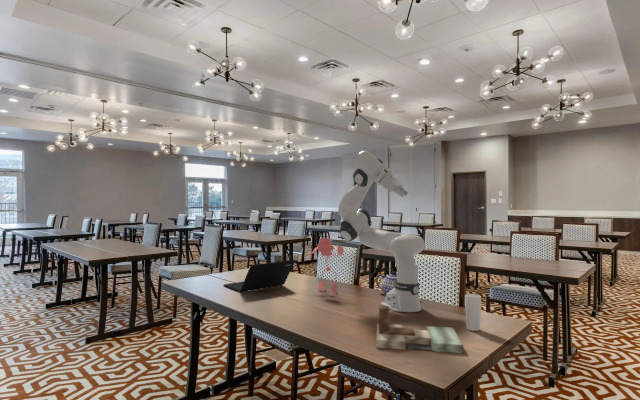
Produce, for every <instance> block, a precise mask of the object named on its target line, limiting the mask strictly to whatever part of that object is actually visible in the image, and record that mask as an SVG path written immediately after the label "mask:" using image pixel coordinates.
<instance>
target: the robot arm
mask: <svg viewBox="0 0 640 400" xmlns="http://www.w3.org/2000/svg"><path fill="white" fill-rule="evenodd" d="M353 163H354V171H353V174H352V179H353V181H354V183H355V185H354V186H353V187H351V188H350V189H348V190H347V192H346V193H344V195H342V197H341V199H340V202H339V204H338V208H337V209H338V211H337V213H338V215H339V216H340V218H341V219H342V221H341V222H340V224H339V225H340V228H339V233H340V236H341V237H342V238H343V239H344V240H345V241H348V242H353V241H354V240H356V239H357V238H358V241H359V243H360V244H362V245H364V246H366V247H369V248H372V249H375V250H379V251H384V252H390V253H391V254H392V255H393V256H394V261H395V264H396V274H397V282H393V283H394V284H395V287H394V289H392V290H391V291H390V292H388V293H387V294H385V298H384V301H382V302H380V306H389V310H391V311H392V312H393V311H394V312H397V313H398V312H399V313H400V312H404V313H416V312H417V313H418V312H420V311H422V307H421V306H422V305H421V301H420V300H421V299H420V293H419V291H420V283H419V268H418V265H417V264H416V261H415V256H417V255H419V254H421V252H423V251H424V250H425V249H424V248H425V240H424V239H423V237H421V236H420V235H417V234H416V235H415V234H410V233H403V232H394V231H388V230H383V229H378V228H373V227H371V226H372V224H373V223H372V219H371V218H372V217H371V215H370V213H369V211H368V210H366V209H365V208H362V207H361V205H362V204H363V201H364V200H365V198H366V196H367V194H368V191H369V190H371V189H370V188H371V187H372V185H373V184H374V183H376V184H377V185H379V186H382V187H383V188H384V189H385V190H387V191H389V192H391V193H392V192H394V193H396V194H397V195H398V196H400V197H401V198H403V197H404V196H407V195H408V194H409V193H408V191H406V189H405V188H404V187H403V186H404V184H403V183H402V182H401V181H400V180H398V179H397V178H396V177H394V176H393V174H392V169H390V168H389V167H388V166H387V165H385V164H384V162H383V160H382V159H380V158H378V157H376V156H375V155H374V154H372V152H370V151H368V150H366V149H364V150H362V151H359V153H357V155H355V157H354V158H353Z"/></svg>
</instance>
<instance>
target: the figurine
mask: <svg viewBox="0 0 640 400" xmlns="http://www.w3.org/2000/svg"><path fill="white" fill-rule="evenodd" d="M317 250H318V251H319V252H320V254H321V256H322V257H325V263H326V268H325V269H323V270H322V271H321V273H322V274H321V276H324V272H326V271H327V272H329V271H330V272H332V273H333V274H335V278H334V279H335V280H334V283H333V284H332V286H331V291H332V292H333V294H334V295H335V294H336V293H337V292H338V284H337V283H336V280H337V277H338V276H337V275H338V273H336V272H335V271H332V270H331V267H330V266H328V260H327V259H328V258H329V257H330V256H334V257H339V256H343V254H344V251H345V250H344V247H343V246H342V245H340V244H339V245H337V249H336V250H337V255H336V254H333V250H335V246H333V242H332V241H331V238H330V236H329V237H327V238H325V237H324V236H323V237H322V238H319V243H317V246H316V247H315V248H314V249H313V250H312V252H311V255H313V254H314V253H316V251H317ZM325 284H326V282H325V280H322V281H321V282H320V283H319V285H318V287H317V291H319V292H320V290H322V289H323V288H324V290H325V291H327V287H326V285H325Z"/></svg>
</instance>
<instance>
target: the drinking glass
mask: <svg viewBox="0 0 640 400" xmlns="http://www.w3.org/2000/svg"><path fill="white" fill-rule="evenodd" d="M464 309H465V320H466V322H465V323H466V329H467V330H468V331H472V332H479V330H480V327H481V325H480V324H481V314H482V296H481V295H480V294H476V293H466V294H464Z"/></svg>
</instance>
